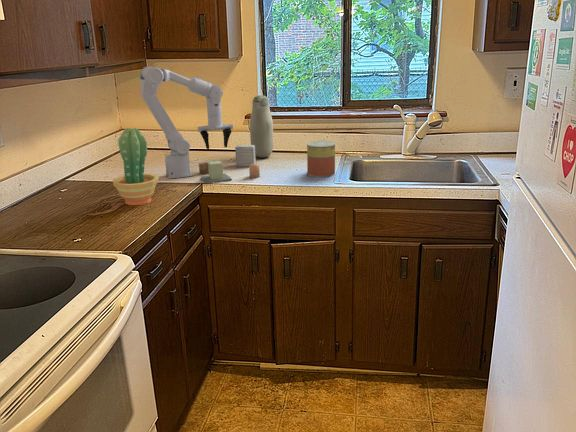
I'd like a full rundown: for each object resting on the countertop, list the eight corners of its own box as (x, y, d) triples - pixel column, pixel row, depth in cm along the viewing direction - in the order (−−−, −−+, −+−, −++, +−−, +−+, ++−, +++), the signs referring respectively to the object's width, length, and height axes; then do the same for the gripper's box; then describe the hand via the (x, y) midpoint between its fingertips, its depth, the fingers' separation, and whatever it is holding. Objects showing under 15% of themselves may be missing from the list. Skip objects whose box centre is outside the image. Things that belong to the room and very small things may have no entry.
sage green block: (211, 179, 206) (210, 164, 204) (209, 176, 210) (208, 162, 208) (223, 178, 207) (222, 163, 205) (220, 175, 211) (219, 160, 209)
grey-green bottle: (247, 158, 244) (244, 96, 235) (261, 154, 251) (259, 93, 242) (263, 160, 238) (261, 97, 229) (277, 156, 246) (276, 94, 237)
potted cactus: (165, 194, 191) (158, 124, 182) (155, 207, 176) (147, 132, 168) (122, 195, 191) (113, 125, 183) (109, 208, 176) (98, 133, 168)
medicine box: (255, 164, 232) (255, 144, 229) (254, 166, 228) (253, 146, 225) (238, 164, 233) (237, 144, 230) (236, 166, 228) (235, 146, 225)
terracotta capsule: (251, 178, 209) (251, 166, 207) (248, 176, 212) (247, 164, 211) (261, 177, 210) (260, 165, 209) (257, 175, 214) (257, 163, 212)
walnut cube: (204, 175, 216) (203, 165, 215) (199, 173, 219) (198, 163, 218) (212, 173, 218) (212, 163, 217) (208, 171, 222) (207, 162, 220)
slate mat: (206, 183, 203) (206, 181, 203) (200, 178, 211) (200, 176, 211) (231, 180, 207) (231, 178, 206) (225, 175, 214) (225, 173, 214)
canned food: (339, 175, 211) (339, 145, 207) (312, 177, 208) (312, 147, 204) (329, 168, 221) (329, 140, 217) (303, 171, 218) (303, 142, 214)
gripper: (199, 117, 210) (201, 151, 214) (234, 114, 215) (236, 147, 220) (195, 115, 216) (197, 148, 221) (229, 112, 221) (231, 144, 226)
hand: (216, 147), depth 221 cm, fingers open, 7 cm apart
